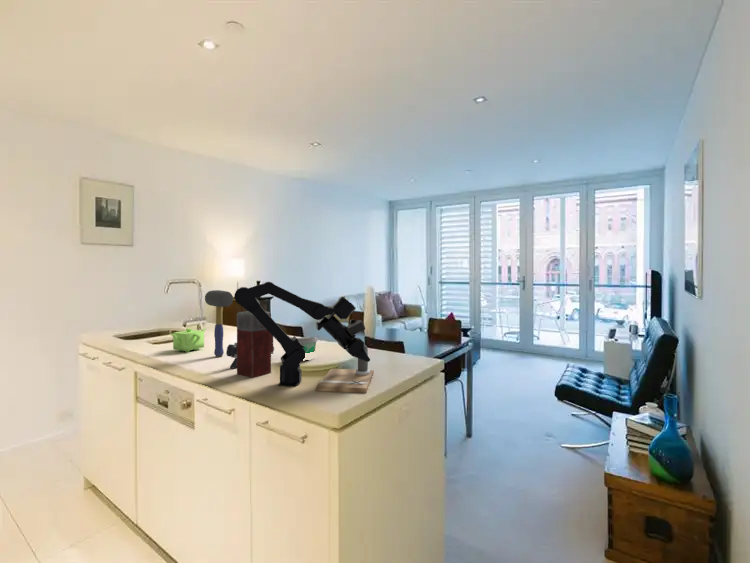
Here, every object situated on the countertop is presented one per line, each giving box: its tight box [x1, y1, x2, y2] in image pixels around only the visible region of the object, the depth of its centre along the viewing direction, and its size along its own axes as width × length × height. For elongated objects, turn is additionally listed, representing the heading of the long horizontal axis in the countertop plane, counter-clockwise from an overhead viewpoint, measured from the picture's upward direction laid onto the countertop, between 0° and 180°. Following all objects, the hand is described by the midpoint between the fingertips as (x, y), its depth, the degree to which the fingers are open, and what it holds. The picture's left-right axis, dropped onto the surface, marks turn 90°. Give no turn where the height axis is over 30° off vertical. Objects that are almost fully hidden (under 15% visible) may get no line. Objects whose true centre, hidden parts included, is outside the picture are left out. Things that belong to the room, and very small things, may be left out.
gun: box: [225, 342, 275, 370], centre depth 163 cm, size 2×25×10 cm, turn 151°
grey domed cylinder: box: [355, 344, 371, 376], centre depth 143 cm, size 5×5×11 cm
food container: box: [290, 336, 318, 353], centre depth 170 cm, size 12×6×10 cm, turn 105°
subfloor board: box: [315, 368, 375, 394], centre depth 137 cm, size 16×23×2 cm
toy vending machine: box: [236, 299, 274, 379], centre depth 148 cm, size 9×11×28 cm
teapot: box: [169, 327, 207, 353], centre depth 189 cm, size 15×13×11 cm
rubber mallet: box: [204, 289, 234, 358], centre depth 176 cm, size 12×8×30 cm, turn 55°
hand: (365, 358), depth 143 cm, fingers open, 9 cm apart
